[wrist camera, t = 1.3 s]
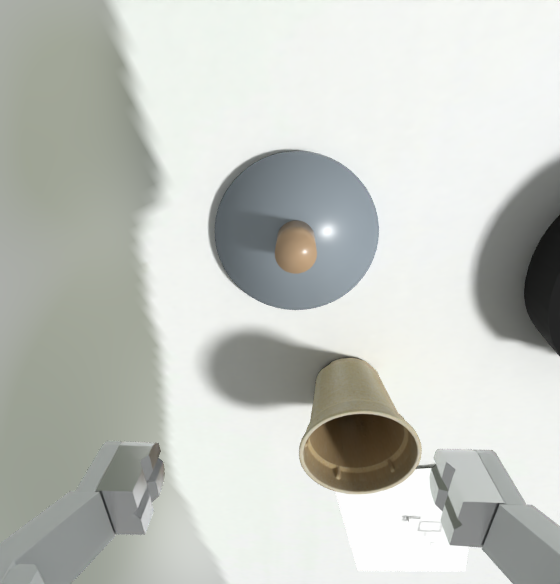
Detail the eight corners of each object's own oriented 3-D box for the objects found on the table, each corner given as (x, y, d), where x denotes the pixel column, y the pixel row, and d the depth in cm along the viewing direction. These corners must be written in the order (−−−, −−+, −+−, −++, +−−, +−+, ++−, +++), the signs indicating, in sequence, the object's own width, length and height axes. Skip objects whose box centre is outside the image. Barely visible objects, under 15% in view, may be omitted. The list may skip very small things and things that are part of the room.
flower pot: (319, 427, 39) (324, 505, 31) (283, 361, 35) (279, 431, 27) (406, 402, 37) (435, 479, 29) (377, 329, 33) (402, 396, 25)
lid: (209, 151, 27) (194, 158, 23) (384, 149, 27) (400, 156, 23) (224, 304, 33) (214, 330, 29) (368, 304, 33) (378, 332, 29)
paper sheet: (459, 574, 51) (462, 583, 50) (254, 563, 54) (253, 571, 53) (495, 459, 40) (499, 468, 39) (236, 452, 43) (235, 460, 42)
